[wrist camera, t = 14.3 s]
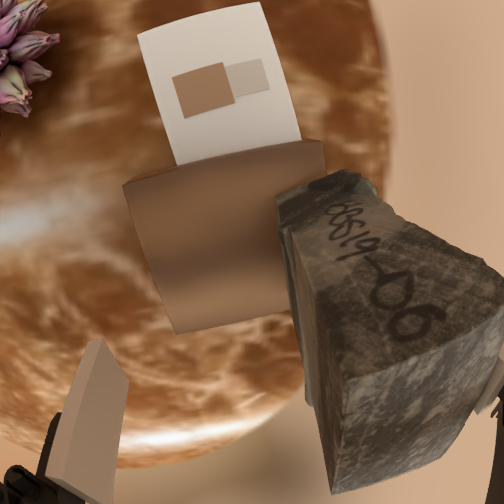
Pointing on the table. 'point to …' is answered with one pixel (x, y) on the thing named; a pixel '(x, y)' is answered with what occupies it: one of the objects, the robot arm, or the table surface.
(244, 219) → the base brick
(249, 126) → the page
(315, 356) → the stone block
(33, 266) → the table surface
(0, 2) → the flower
